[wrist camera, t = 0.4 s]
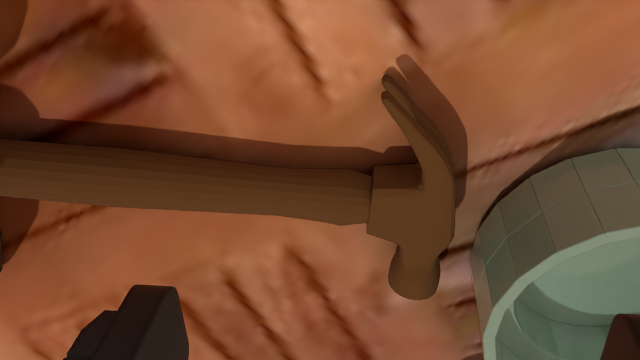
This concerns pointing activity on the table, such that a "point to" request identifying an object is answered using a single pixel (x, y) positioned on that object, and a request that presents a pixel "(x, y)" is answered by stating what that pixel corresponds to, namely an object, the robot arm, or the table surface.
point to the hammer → (265, 189)
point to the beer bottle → (0, 260)
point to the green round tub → (560, 259)
